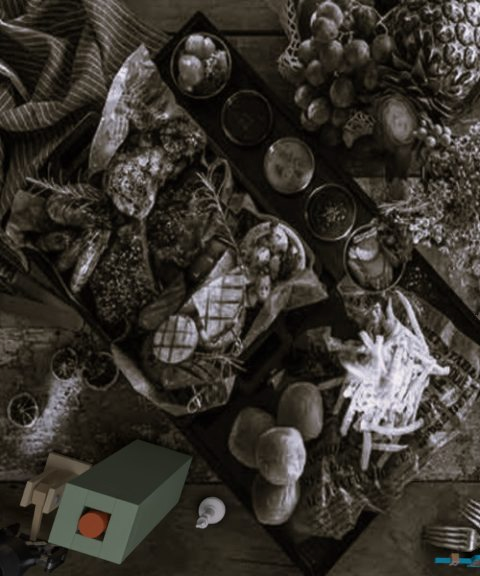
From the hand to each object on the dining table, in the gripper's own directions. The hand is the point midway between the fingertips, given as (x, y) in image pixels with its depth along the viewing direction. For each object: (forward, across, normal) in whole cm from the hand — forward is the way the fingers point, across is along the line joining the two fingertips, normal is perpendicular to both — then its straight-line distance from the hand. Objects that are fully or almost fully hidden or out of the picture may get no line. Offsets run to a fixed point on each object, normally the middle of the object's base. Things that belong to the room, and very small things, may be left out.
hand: (39, 535), depth 139 cm
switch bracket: (+4, 0, -9) cm, 10 cm away
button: (-27, -16, -16) cm, 35 cm away
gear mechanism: (-3, -79, -24) cm, 83 cm away
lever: (-3, 0, -5) cm, 6 cm away
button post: (+4, -16, -16) cm, 23 cm away
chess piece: (+4, -28, -12) cm, 31 cm away
